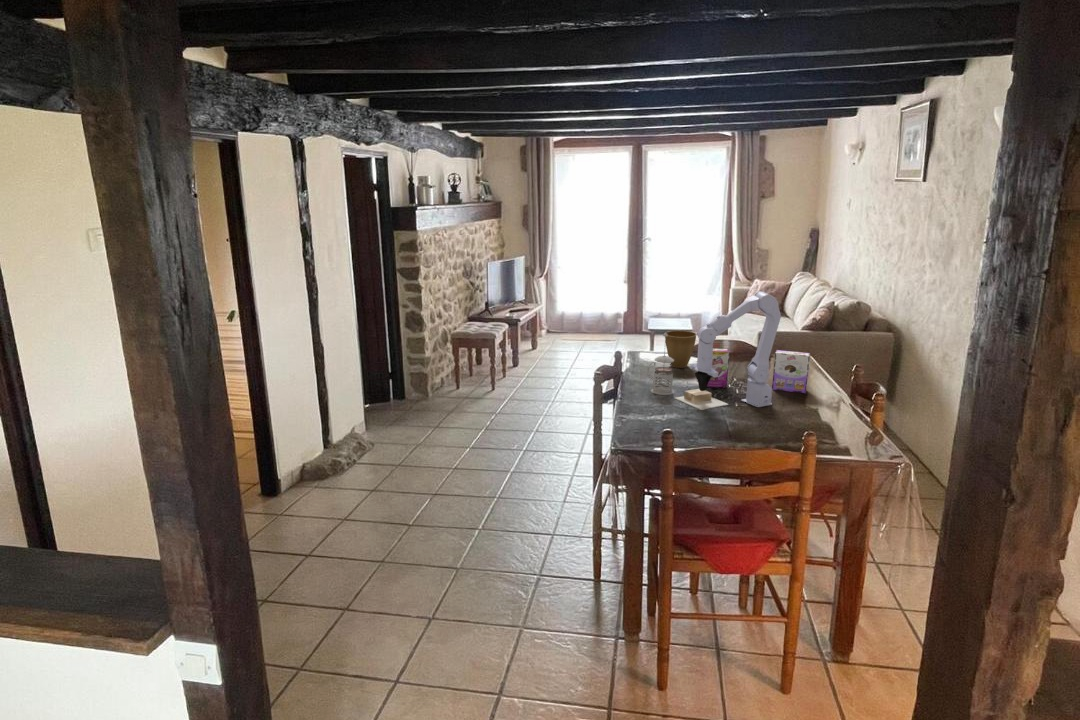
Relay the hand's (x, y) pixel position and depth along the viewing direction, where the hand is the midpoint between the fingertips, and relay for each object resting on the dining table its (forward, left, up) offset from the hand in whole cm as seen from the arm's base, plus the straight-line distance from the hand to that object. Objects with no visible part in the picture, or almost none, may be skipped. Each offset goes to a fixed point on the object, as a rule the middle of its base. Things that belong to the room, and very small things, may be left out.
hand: (702, 390), depth 268 cm
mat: (0, 0, -5) cm, 5 cm away
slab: (-1, 0, -3) cm, 3 cm away
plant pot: (+49, -27, -5) cm, 56 cm away
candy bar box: (+15, -19, -5) cm, 25 cm away
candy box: (-3, -45, -5) cm, 45 cm away
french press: (+19, +6, -5) cm, 21 cm away
